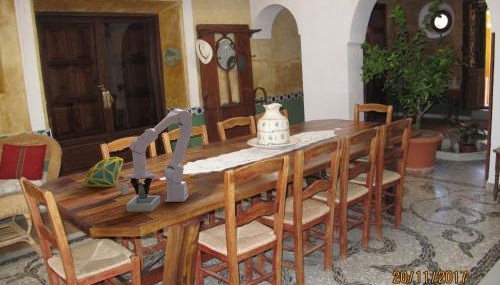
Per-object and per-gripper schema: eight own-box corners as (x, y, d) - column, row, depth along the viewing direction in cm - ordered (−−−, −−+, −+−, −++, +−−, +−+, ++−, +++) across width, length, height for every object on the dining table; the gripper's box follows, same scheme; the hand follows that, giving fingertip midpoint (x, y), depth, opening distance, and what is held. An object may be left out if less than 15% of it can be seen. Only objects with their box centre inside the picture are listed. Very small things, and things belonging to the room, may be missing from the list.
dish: (160, 202, 222) (159, 195, 222) (152, 211, 211) (151, 204, 210) (136, 202, 224) (135, 195, 223) (126, 211, 212) (126, 204, 212)
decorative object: (118, 183, 270) (105, 161, 269) (139, 172, 255) (125, 148, 254) (85, 201, 252) (71, 177, 251) (106, 190, 237) (91, 164, 236)
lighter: (127, 192, 241) (125, 177, 240) (129, 192, 240) (128, 178, 239) (116, 196, 236) (114, 181, 234) (118, 196, 235) (116, 181, 233)
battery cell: (148, 196, 218) (147, 180, 217) (145, 199, 214) (144, 183, 213) (140, 196, 219) (138, 180, 217) (137, 199, 215) (135, 183, 213)
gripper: (121, 168, 210) (124, 196, 213) (152, 167, 208) (155, 196, 211) (127, 164, 217) (130, 191, 220) (157, 163, 215) (159, 191, 218)
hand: (142, 193), depth 216 cm, fingers closed on battery cell, 4 cm apart
